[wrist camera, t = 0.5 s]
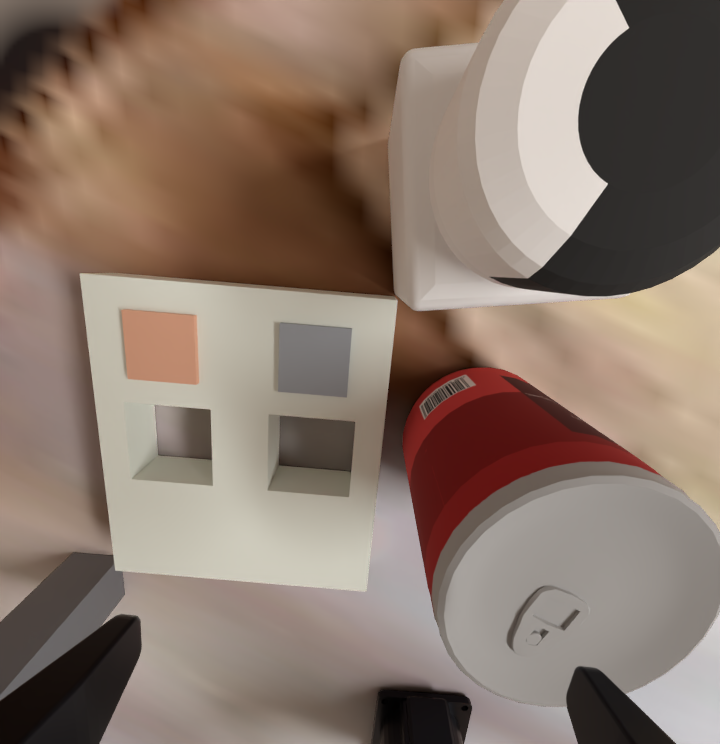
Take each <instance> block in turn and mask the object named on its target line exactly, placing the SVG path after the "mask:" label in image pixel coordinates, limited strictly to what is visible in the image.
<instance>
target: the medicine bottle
mask: <svg viewBox="0 0 720 744" xmlns="http://www.w3.org/2000/svg"><path fill="white" fill-rule="evenodd" d="M388 162H389V186H390V210H391V234H392V258H393V282H394V292H395V295H397V296H398V297H399V298H400V299H401V300H402V301H403V302H405V303H406V304H407V305H408V306H409V307H410V308H411V309H413V310H416V311H428V310H444V309H459V308H474V307H490V306H505V305H521V304H536V303H551V302H567V301H582V300H598V299H613V298H621V297H624V296H628V295H629V294H630V293H633V292H636V291H640V290H644V289H647V288H651V287H653V286H656V285H658V284H661V283H663V282H666V281H668V280H670V279H673V278H674V277H676V276H678V275H680V274H682V273H683V272H685V271H687V270H689V269H691V268H693V267H694V266H695V265H697V264H698V263H700V262H701V261H702V260H704V259H705V258H707V257H708V256H709V255H711V254H712V253H714V252H715V251H716V250H717V249H718V248H719V247H720V0H504V1H503V3H502V4H501V5H500V7H499V8H498V10H497V11H496V12H495V14H494V16H493V18H492V20H491V21H490V23H489V25H488V27H487V29H486V30H485V32H484V34H483V36H482V38H481V39H480V41H479V43H470V44H459V45H448V46H437V47H426V48H416V49H412V50H409V51H407V53H406V54H405V55H404V56H403V58H402V59H401V63H400V68H399V75H398V81H397V88H396V94H395V101H394V107H393V114H392V120H391V127H390V133H389V140H388Z"/></svg>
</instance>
